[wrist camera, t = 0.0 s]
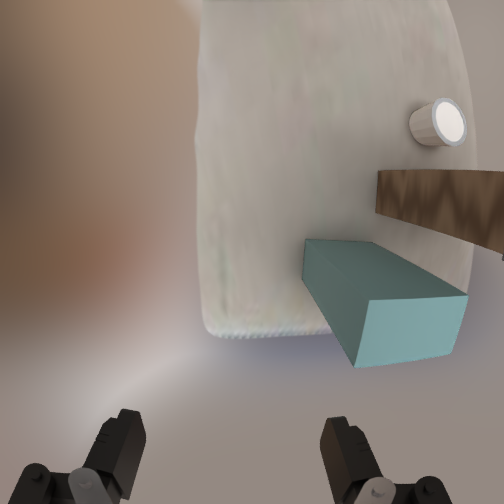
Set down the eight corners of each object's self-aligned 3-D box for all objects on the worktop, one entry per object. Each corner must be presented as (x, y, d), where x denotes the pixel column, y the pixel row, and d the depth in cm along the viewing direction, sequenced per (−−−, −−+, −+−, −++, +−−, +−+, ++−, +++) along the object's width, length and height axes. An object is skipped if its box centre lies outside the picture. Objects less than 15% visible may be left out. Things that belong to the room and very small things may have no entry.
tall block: (305, 239, 39) (369, 300, 18) (372, 242, 39) (468, 295, 19) (301, 278, 40) (354, 368, 20) (367, 279, 40) (450, 353, 20)
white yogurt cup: (397, 122, 35) (423, 114, 28) (421, 98, 34) (447, 88, 27) (424, 158, 36) (452, 156, 30) (446, 132, 35) (473, 128, 29)
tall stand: (378, 170, 37) (596, 182, 6) (437, 181, 37) (621, 210, 6) (375, 212, 38) (583, 289, 7) (434, 219, 39) (611, 282, 8)
